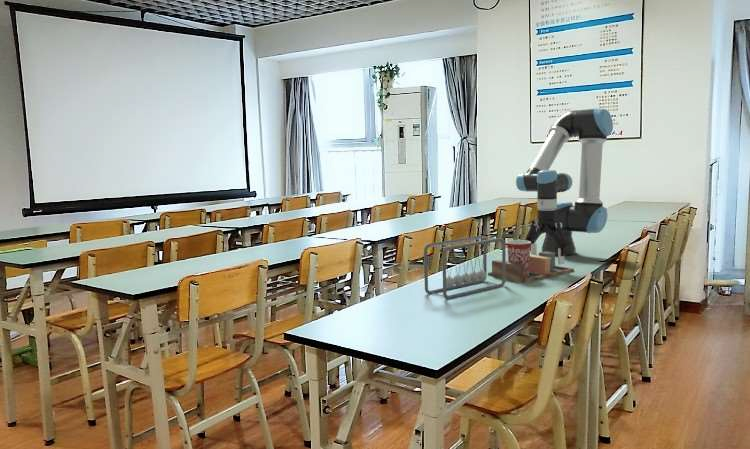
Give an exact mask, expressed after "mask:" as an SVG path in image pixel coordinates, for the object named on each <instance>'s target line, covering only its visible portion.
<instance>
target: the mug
mask: <svg viewBox="0 0 750 449" xmlns="http://www.w3.org/2000/svg"><path fill="white" fill-rule="evenodd" d="M530 244H531V242H530V241H526V240H525V239H523V240H522V239H512V240H508V241H507V242H506V245H507V246H506V247H507V262H513V263H518V264H524V265H525V279H527V278H529V276H530V275H529V274H530V273H529V260H530V254H531V251H530Z"/></svg>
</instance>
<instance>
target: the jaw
mask: <svg viewBox="0 0 750 449" xmlns="http://www.w3.org/2000/svg"><path fill="white" fill-rule="evenodd" d="M550 259H551V258H550V257H544V256H539V254H538V255H532V254H531V253H530V260H529V274H535V275H538V276H540V275H544V274H549V273H551V271H550Z"/></svg>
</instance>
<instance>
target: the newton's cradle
mask: <svg viewBox="0 0 750 449" xmlns="http://www.w3.org/2000/svg"><path fill="white" fill-rule="evenodd" d="M477 240H478V241H477ZM498 242H501V244H502V245H501V246H502V248H501V250H502V252H501V256H502V258H501V260H502V278H501V279H502V281H501V283H494V282H490V281H486V279H487V275H488V273H487V270H488V269H487V244H492V243H498ZM458 243H459V244H458ZM454 244H456V245H454ZM480 245H482V247H483V249H482V250H483V251H482V253H483V259H482V265H481V262H480V260H478V263H479V265H481V266H482V267H479V269H480V270H478V271H477V272H476V271H475V270H476V268H474V267H473V266H471V268H472V271H471V272H470V273H468V272H464V273H463V274H461V275H460V274H459V273H456V275H454V276H453V277H451V275H452V270H450V272H449V274H447V271H449V268H448V267H449V266H447V263H448V260H447V259H448V258H447V252H448V251H451V250H453V252H452V254H453V256H452V259H451V261H453V258H456V255H455V250H457V249H461V253H460V256H461V257H464V255H463V254H464V253H463V248H468V249H469V250H468V251H469V252H468V254H469V256H468V258H467V262H469V260H471V261H470V263H471V264H473V262H472V260H473V259H470V257H472V254H471V247H475V246H476V252H479V249H478V248H479V246H480ZM431 247H435V248H438V249H439V248H440V249H443V250H442V255H441V257H442V259H441V260H442V288H437V289H432V290H429V279H428V278H429V277H428V275H429V274H428V272H429V271H428V270H429V269H428V249H429V248H431ZM506 247H507V246H506V240H505V238H502V237H498V238H496V237H491V236H490V237H489V236H484V235H482V234H481V235H477V236H476V235H474V236H470V237H462V238H457V239H450V240H444V241H436V242H431V243H427V244H426V245H425V246H424V248H423V267H424V268H423V269H424V271H423V272H424V275H423V276H424V291H425V293H426V294H428V295H436V296H440V297H444V299H446V300H451V299H455V298H459V297H465V296H467V295H468V296H469V295H472V294H476V293H479V292H485V291H488V290H489V289H490V290H493V288H494V289H497V287H498V288H501V287H503V286H505V285H506V280H507V279H506V255H507V254H506V252H507V251H506V250H507V249H506ZM479 255H480V254H478V253H476V256H475V259H480V256H479ZM477 256H478V258H477ZM461 261H462V262H463V263H462V264H465V262H464V259H462V258H460V261H459V264H461ZM454 262H455V265H457V262H456V260H454ZM476 264H477V261H475V263H474V266H476ZM468 266H469V264H467V266H466V268H465V266H463V268H464V270H463V271H466V270H468ZM452 267H453V263H451V267H450V268H452ZM460 268H461V266H459V269H457V267H455V269H456V270H455V271H456V272H460ZM457 270H458V271H457ZM481 283H485V284H489V286H484V287H481V288H476V289H471V290H467V291H463V292H459V293H454V294H451V295H448V293H447V291H450V290H455V289H459V288H464V287H467V286H472V285H477V284H481ZM490 284H491V285H490ZM441 292H442V294H440V293H441Z"/></svg>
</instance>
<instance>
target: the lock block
mask: <svg viewBox="0 0 750 449" xmlns="http://www.w3.org/2000/svg"><path fill="white" fill-rule="evenodd" d="M538 256H544V257H550V258H551V259H550V272H551V271H555V270H556V269H555V266H556V255H555V253H554V252H547V251H545V252H542V251H540V252H538Z"/></svg>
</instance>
